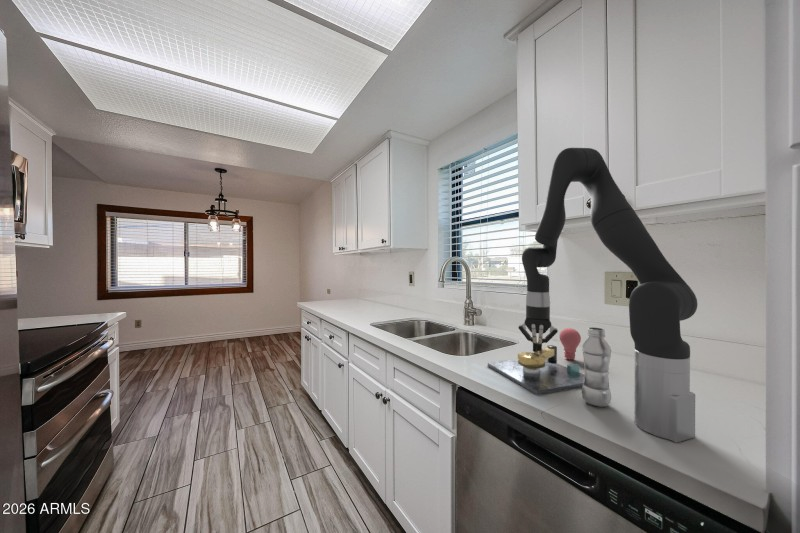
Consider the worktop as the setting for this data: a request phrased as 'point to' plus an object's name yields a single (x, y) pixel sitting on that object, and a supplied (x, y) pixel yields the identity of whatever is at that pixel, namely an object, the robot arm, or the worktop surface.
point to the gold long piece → (538, 357)
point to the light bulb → (570, 342)
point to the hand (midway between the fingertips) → (537, 353)
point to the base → (541, 376)
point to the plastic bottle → (596, 368)
